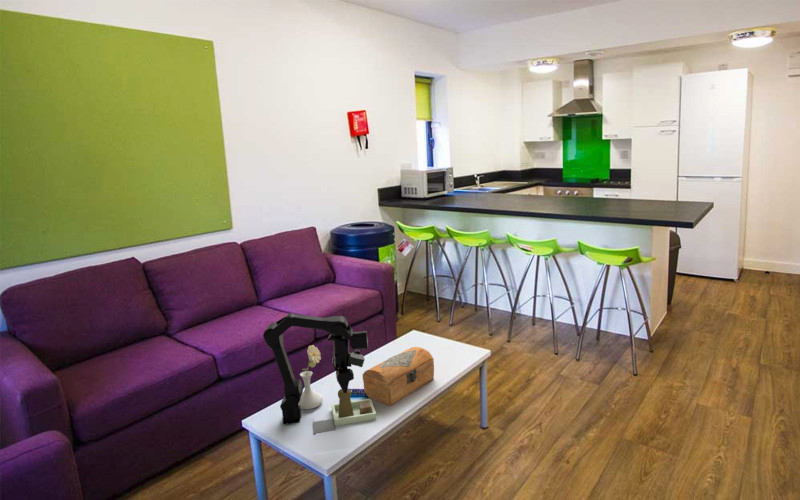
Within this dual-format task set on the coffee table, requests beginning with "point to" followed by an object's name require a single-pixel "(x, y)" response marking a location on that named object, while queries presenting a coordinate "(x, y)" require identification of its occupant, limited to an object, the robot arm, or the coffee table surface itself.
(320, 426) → the pad
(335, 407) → the tray
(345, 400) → the cork
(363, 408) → the walnut block
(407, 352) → the wooden box
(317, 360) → the flower in vase
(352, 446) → the coffee table surface
